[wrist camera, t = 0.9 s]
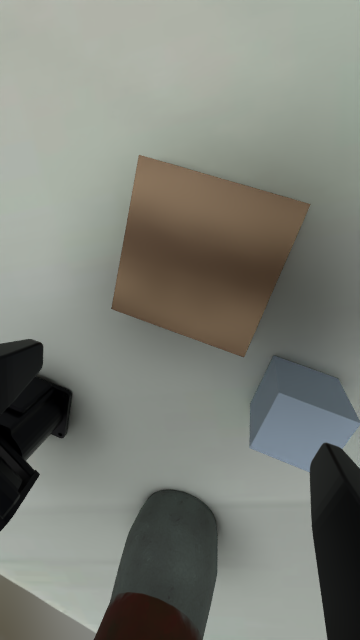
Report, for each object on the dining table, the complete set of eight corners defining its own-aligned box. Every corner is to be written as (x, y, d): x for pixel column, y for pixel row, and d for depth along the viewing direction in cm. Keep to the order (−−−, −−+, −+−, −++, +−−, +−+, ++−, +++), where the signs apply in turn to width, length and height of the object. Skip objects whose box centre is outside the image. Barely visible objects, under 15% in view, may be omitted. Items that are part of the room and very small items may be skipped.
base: (245, 339, 22) (243, 357, 19) (128, 297, 23) (111, 308, 20) (301, 205, 17) (310, 204, 15) (155, 163, 19) (138, 154, 16)
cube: (308, 425, 23) (321, 477, 19) (250, 402, 24) (249, 447, 19) (337, 377, 21) (361, 423, 16) (273, 354, 22) (279, 392, 17)
